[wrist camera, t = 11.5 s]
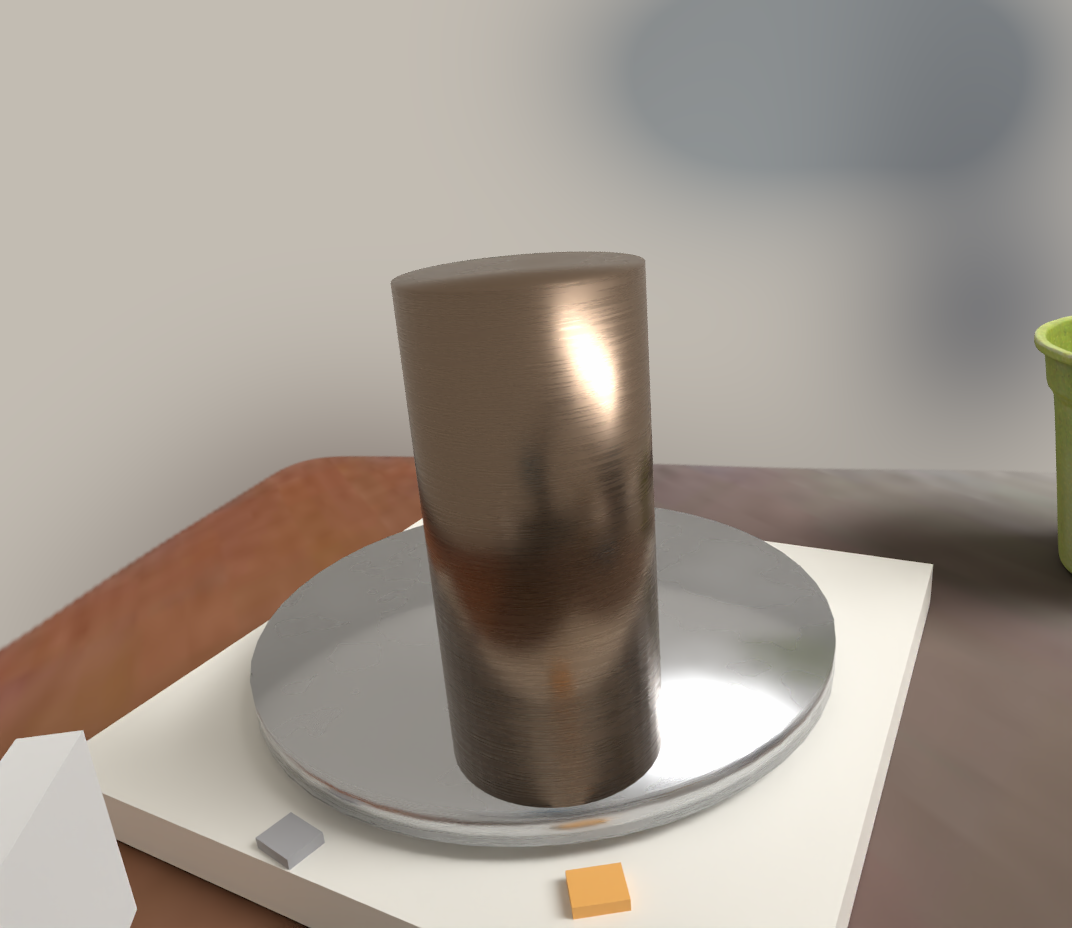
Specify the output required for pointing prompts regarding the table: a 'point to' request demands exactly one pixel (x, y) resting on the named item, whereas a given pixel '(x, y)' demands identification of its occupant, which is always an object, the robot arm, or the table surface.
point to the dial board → (542, 871)
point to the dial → (539, 592)
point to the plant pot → (1061, 420)
